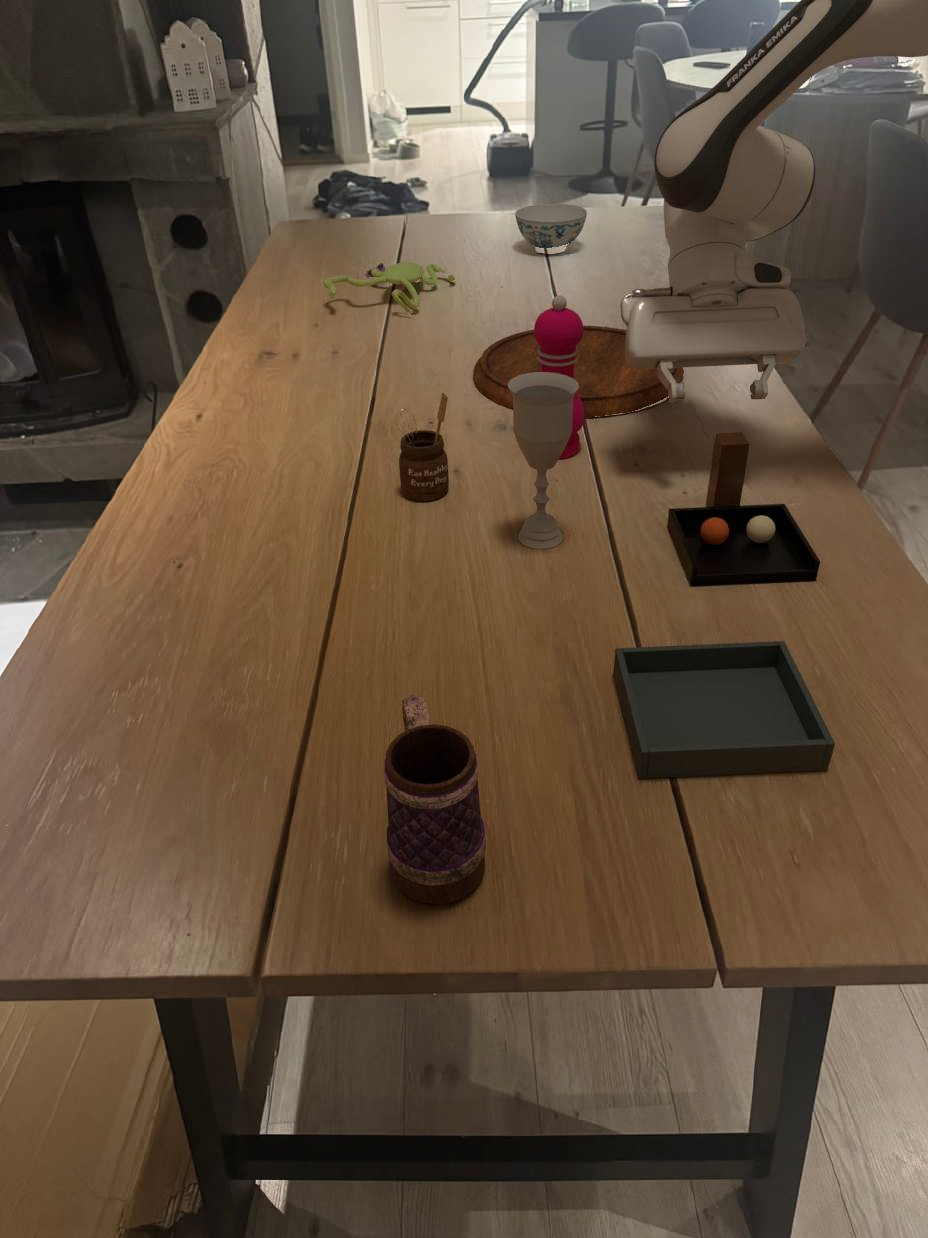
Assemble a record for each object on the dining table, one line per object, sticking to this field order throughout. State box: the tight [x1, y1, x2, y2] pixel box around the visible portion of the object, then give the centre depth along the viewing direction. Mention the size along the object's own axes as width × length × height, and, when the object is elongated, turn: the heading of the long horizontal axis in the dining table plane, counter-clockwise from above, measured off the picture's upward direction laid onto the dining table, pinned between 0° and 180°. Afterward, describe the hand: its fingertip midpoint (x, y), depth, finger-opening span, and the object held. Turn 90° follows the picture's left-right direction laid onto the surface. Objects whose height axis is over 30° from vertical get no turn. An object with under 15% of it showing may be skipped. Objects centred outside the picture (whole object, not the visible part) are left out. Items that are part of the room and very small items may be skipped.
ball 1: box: [700, 517, 729, 545], centre depth 100 cm, size 3×3×3 cm
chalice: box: [508, 372, 579, 550], centre depth 99 cm, size 7×7×18 cm
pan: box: [666, 431, 821, 587], centre depth 99 cm, size 13×15×10 cm
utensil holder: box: [394, 391, 450, 502], centre depth 111 cm, size 6×6×12 cm
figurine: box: [323, 262, 456, 314], centre depth 175 cm, size 18×27×6 cm
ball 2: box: [746, 515, 775, 543], centre depth 100 cm, size 3×3×3 cm
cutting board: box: [472, 325, 685, 419], centre depth 142 cm, size 32×32×2 cm
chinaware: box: [514, 203, 588, 248], centre depth 196 cm, size 15×15×8 cm
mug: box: [383, 694, 487, 905], centre depth 66 cm, size 10×7×12 cm
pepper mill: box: [533, 294, 585, 460], centre depth 116 cm, size 7×7×20 cm
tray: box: [612, 640, 836, 780], centre depth 79 cm, size 15×13×3 cm
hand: (718, 399), depth 106 cm, fingers open, 8 cm apart
